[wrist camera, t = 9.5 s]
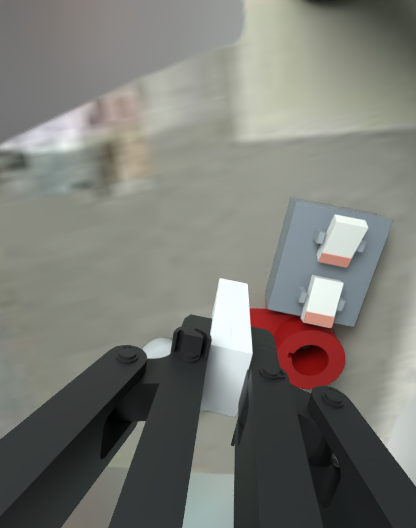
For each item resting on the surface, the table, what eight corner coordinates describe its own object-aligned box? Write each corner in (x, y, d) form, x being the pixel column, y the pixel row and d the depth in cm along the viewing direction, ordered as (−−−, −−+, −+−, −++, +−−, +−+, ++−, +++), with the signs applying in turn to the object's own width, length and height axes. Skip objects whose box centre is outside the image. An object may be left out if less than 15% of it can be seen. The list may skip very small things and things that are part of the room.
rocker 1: (334, 214, 38) (336, 222, 36) (365, 220, 38) (368, 228, 36) (316, 253, 42) (318, 262, 40) (344, 259, 42) (346, 268, 40)
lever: (340, 317, 50) (355, 340, 43) (320, 368, 53) (331, 396, 46) (227, 288, 50) (225, 306, 44) (212, 340, 53) (209, 364, 47)
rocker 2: (311, 274, 42) (315, 277, 40) (339, 280, 42) (344, 283, 40) (300, 318, 43) (303, 322, 41) (327, 323, 43) (331, 328, 41)
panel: (290, 197, 45) (299, 203, 38) (378, 214, 44) (404, 224, 38) (264, 295, 49) (269, 316, 43) (344, 311, 49) (361, 335, 42)
